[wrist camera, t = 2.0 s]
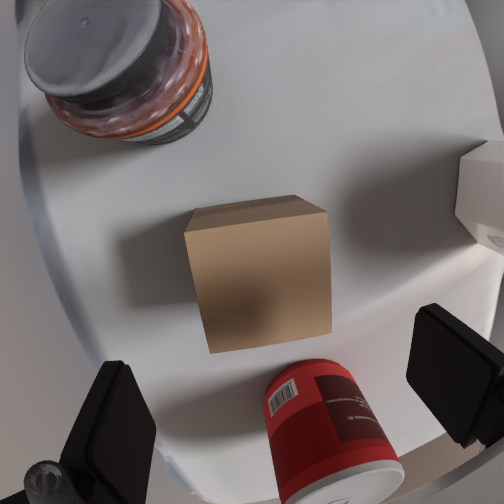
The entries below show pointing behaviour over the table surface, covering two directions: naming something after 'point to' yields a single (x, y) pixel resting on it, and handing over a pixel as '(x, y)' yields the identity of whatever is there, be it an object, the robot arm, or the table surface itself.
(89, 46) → the supplement bottle
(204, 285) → the walnut cube
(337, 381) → the canned food
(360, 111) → the table surface
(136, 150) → the table surface
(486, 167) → the jar
